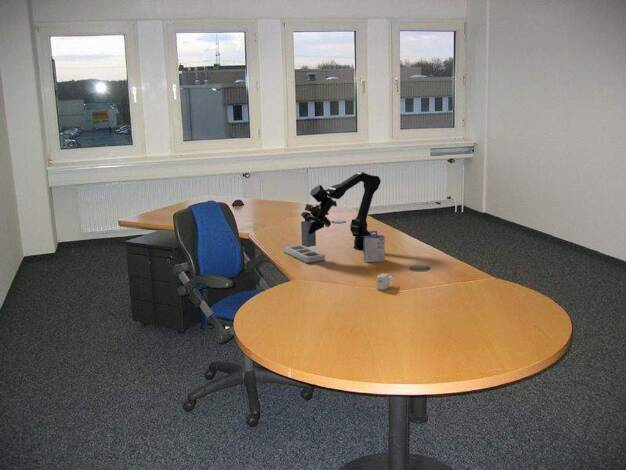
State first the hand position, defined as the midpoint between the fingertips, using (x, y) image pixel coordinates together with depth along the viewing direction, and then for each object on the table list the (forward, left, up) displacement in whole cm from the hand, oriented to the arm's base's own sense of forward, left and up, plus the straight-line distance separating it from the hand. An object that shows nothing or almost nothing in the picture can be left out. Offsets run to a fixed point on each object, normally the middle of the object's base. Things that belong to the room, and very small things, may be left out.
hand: (306, 232), depth 300 cm
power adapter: (-8, +58, -14) cm, 60 cm away
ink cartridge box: (-27, +20, -14) cm, 36 cm away
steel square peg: (-1, 0, -7) cm, 7 cm away
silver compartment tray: (-1, -5, -13) cm, 14 cm away
